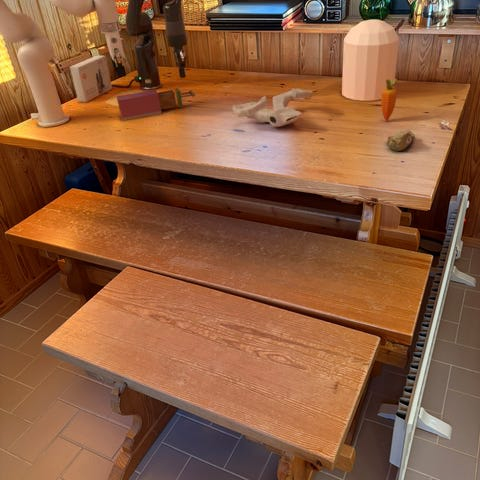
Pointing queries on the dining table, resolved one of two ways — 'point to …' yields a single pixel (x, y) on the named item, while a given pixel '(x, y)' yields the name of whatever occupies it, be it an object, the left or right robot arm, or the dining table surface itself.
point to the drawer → (172, 98)
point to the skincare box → (91, 78)
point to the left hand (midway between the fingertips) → (120, 73)
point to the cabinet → (139, 104)
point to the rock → (400, 140)
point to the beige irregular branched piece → (280, 112)
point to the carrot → (388, 99)
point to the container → (369, 60)
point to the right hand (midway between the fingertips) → (182, 77)
